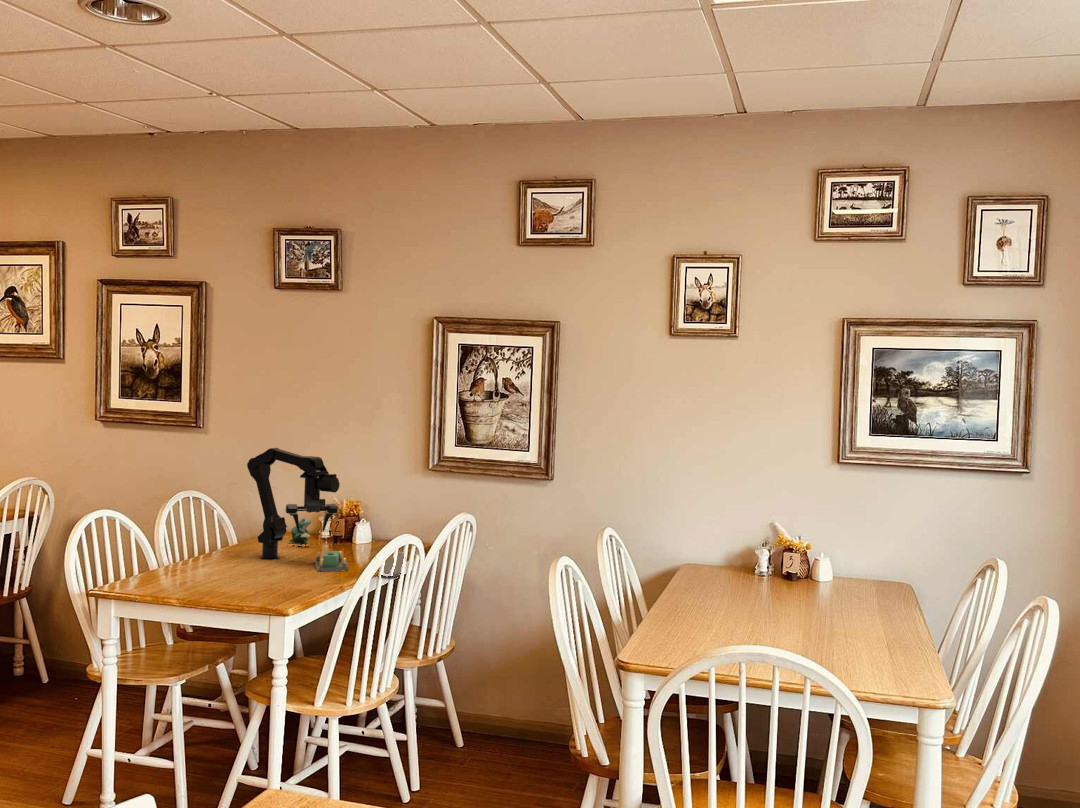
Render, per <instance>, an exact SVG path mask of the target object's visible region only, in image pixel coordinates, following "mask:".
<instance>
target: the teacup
mask: <svg viewBox="0 0 1080 808" xmlns="http://www.w3.org/2000/svg"><path fill="white" fill-rule="evenodd" d="M378 553H379V552H377V553H376V554H375V555H374V556H375V557H376V555H377V554H378ZM404 553H405V552H402V551H399V552H398V557H397V563H396V566H395V569H394V572H393V577H392V578H396V577H400V575H401V574H400V572H401V567H402V564H403V559H404ZM393 563H394V558H393V555H391V556H390V558H388V560H387V562H386V564H385V566H384V573H385V574H389V573H390V570H391V569H392V567H393ZM399 574H400V575H399Z"/></svg>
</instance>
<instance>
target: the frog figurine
mask: <svg viewBox="0 0 1080 808" xmlns="http://www.w3.org/2000/svg"><path fill="white" fill-rule="evenodd" d="M298 521H299V532H298V530H297V527H296V525H295V526H293V527H292V528H291V537H292V538H291V539H289V540H288V542H289V543H288V542H287V544H297V545H302V544H305V545H306V544H308V543H309V542H310V540H309V538H310V537H311V535H310V534H309V530H308V529H307V528H308V527H309V526H310V525H311V524H312V521H311V520H310V519H306V518H305V517H302V518H301V520H298Z"/></svg>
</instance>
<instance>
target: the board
mask: <svg viewBox="0 0 1080 808" xmlns="http://www.w3.org/2000/svg"><path fill="white" fill-rule="evenodd" d="M339 551H340V550H325V551H324V553H323V555H322V558H324V560H323V566H336V565H337V563H338V561H339Z"/></svg>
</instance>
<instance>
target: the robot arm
mask: <svg viewBox="0 0 1080 808" xmlns="http://www.w3.org/2000/svg"><path fill="white" fill-rule="evenodd" d="M276 461H279V462H282V463H285V464H286V463H287V464H290V465H293V466H296V467H297V468H299V470H301V471H303V473H302V474H301V475H300V476H299V478H302V479H304V495H303V496H304V497H303V506H302V505H300V506H299V505H298V504H296V503H288V504H286V505H285V513H286V514H288V515H289V516H290V517H291V516H292V518H293V519H294V523H295V526H296V527H297V530H298V532H299V521H300V520H299V513H298V512H306V513H320V512H324V514H323V522H322V532H325V530H326V526H327V524H328V522H329V519H330V518H331V516H334V514H338V511H339V510H338V506H337V504H335V503H327V504H326V498H320V496H321V492H326V493H334V494H335V493H337V492H338V491H339V489H340V484H341V483H340V481H339V478H338V477H337V474H336V473H331V474H330V473H329V471H328V469H327V468H326V466H325V464H324V461H323V458H322V457H320V456H311V455H307V456H306V455H301V454H298V453H293V452H291V451H287V450H285V449H280V448H278V447H271V448H268V449H266V450H265V451H264V452H262V453H260V454H258V455H256V456H255V457H251V458H250V459H249V460H248V461H247V464H246V467H247V470H248V473H249V475H250V477H252V479H254V481H255V484H256V487H257V491H258V496H259V498H260V503H261V508H262V511H263V515H264V519H263V524H262V532H261V533H260V534H259V535H258V536H257V537H256V538H257V541H258V543H259V544H262V551H261V553H262V554H260V559H261V558H262V559H261V560H266V559H267V558H268V559H267V560H270V559H269V558H279V559H280V556H279V554H278V552H279V542H282V541H283V538H284V536H285V535H286V533H287V528H288V525H287V523H286V519H285V517H283V516H282V517H281V516H280V515H279V513H278V509H277V505H276V502H275V501H276V500H275V498H274V494H273V490H272V487H271V482H270V481H271V480H270V474H271V471H272V470H271V466H272V465H273V464H274V463H275V462H276Z"/></svg>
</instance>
